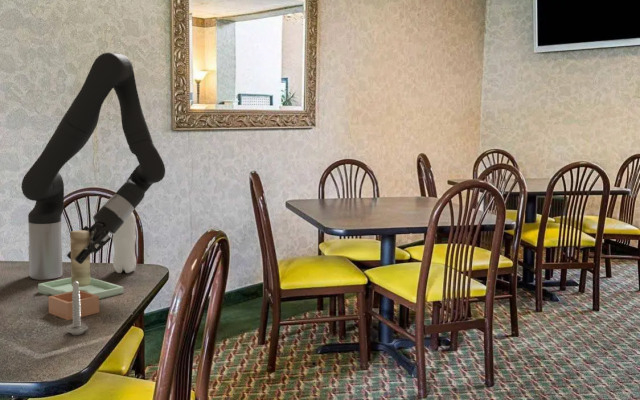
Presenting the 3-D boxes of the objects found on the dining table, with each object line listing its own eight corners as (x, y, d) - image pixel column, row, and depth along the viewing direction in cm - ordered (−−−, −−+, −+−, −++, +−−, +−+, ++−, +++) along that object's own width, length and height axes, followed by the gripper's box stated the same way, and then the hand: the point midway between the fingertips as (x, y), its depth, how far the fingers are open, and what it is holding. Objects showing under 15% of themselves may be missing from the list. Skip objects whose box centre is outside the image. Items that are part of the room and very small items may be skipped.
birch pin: (68, 284, 178) (66, 232, 176) (84, 281, 182) (82, 229, 180) (78, 287, 175) (76, 234, 173) (94, 284, 179) (93, 232, 177)
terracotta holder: (48, 316, 159) (48, 296, 158) (79, 308, 166) (79, 289, 165) (68, 323, 154) (67, 303, 153) (99, 315, 160) (99, 296, 160)
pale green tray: (38, 292, 179) (38, 283, 179) (82, 283, 190) (82, 274, 190) (78, 306, 167) (78, 297, 167) (123, 295, 178) (123, 286, 178)
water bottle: (129, 275, 201) (128, 196, 198) (108, 273, 203) (107, 195, 199) (140, 269, 208) (139, 194, 205) (120, 268, 210) (119, 193, 206)
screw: (86, 339, 143) (63, 340, 142) (89, 332, 148) (67, 333, 147) (85, 283, 141) (62, 283, 140) (88, 277, 146) (66, 278, 145)
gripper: (94, 202, 186) (53, 247, 179) (116, 208, 175) (74, 256, 169) (112, 218, 190) (73, 263, 183) (134, 225, 180) (93, 273, 173)
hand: (73, 259), depth 176 cm, fingers closed on birch pin, 5 cm apart
